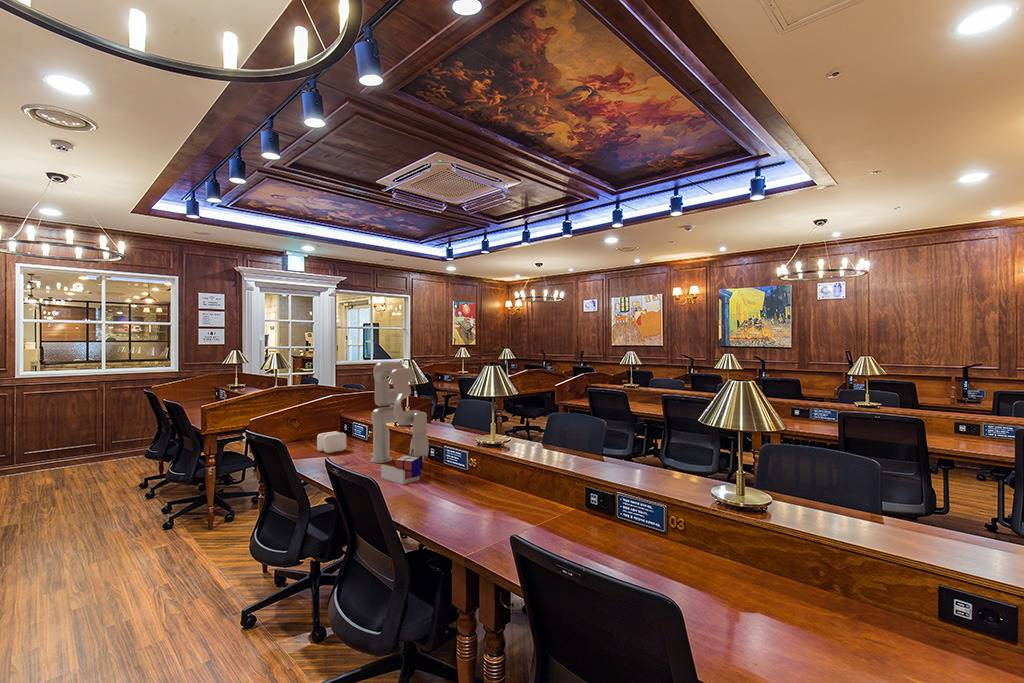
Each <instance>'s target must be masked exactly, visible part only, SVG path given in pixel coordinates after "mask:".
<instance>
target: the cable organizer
mask: <svg viewBox="0 0 1024 683" xmlns="http://www.w3.org/2000/svg"><path fill="white" fill-rule="evenodd" d="M346 448H347V434H346V433H344V432H339V431H337V430H336V431H335V430H334V431H329V432H322V433H319V434H317V436H316V449H317V451H320V452H321V451H322V452H325V453H327V454H332V453H334V452H343V451H344V450H346Z"/></svg>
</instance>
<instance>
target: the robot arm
mask: <svg viewBox="0 0 1024 683" xmlns="http://www.w3.org/2000/svg"><path fill="white" fill-rule="evenodd" d="M372 373H373V374H372V375H373V380H374V404H375V405H377V406H378V408H375V409H373V411H372V412H371V414H370V415H371V422H372V452H371V453H370V456H372V457H371V458H370V462H371V463H374V464H383V463H385V464H386V463H388V462H391V461H393V457H392V456H390V439H391V438H390V437H391V436H390V429H389V427H388V426H387V424H389V423H395V422H397V424H398V425H399V426H407V425H408V426H409V425H412V437H411V439H410V446H409V456H412V457H421V466H420V467H421V470H423V469H424V468H423V467H424V466H423V465H424V461H425V458H427V457H428V455H429V450H430V447H429V446H430V445H429V444H430V443H429V437H428V434H429V433H428V430H427V429H428V422H427V421H428V414H427V412H425V411H421V410H419V409H410V410H404V409H403V406H402V402H403V400H404V399H406V398H408V397H409V396H410V395H411V394H412V389H411V387H410V383H413V382H414V381H415V378H416V373H415V371H414V370H413V369H412V368H411V366H410V365H407V364H406V363H405V362H402V361H386V362H385V361H383V362H378V363H377V364H375V366H374V367H373V371H372ZM388 377H390V379H391V383H392V386H393V388H390V384H391V383H390V380H389V379H388ZM384 406H385V407H384Z"/></svg>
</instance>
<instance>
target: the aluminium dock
mask: <svg viewBox="0 0 1024 683" xmlns="http://www.w3.org/2000/svg"><path fill="white" fill-rule="evenodd" d="M420 477H421V475H420V476H419V475H418V476H415V477H411V478H408V479H405V470H402V469H398V468H395V466H391V465H388V464H383V463H381V464H380V478H381V479H384V480H385V481H386V480H387V481H390V482H394V483H397V484H400V485H403V486H404V485H406V484H410V483H414V482H416V481H420V479H421V478H420Z"/></svg>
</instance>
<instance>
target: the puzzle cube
mask: <svg viewBox="0 0 1024 683" xmlns="http://www.w3.org/2000/svg"><path fill="white" fill-rule="evenodd" d="M394 464H395V465H394V467H395V468H398V469H402V470H405V479H408V478H411V477H415V476H418V475H419V476H420V477H421V475H422V469H421V467H420V466H421V457H412V456H410V455H402V456H401V457H399V458H397V459H396V460H395V461H394Z"/></svg>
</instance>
